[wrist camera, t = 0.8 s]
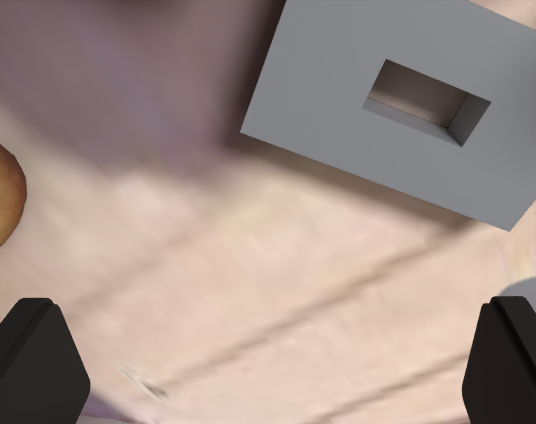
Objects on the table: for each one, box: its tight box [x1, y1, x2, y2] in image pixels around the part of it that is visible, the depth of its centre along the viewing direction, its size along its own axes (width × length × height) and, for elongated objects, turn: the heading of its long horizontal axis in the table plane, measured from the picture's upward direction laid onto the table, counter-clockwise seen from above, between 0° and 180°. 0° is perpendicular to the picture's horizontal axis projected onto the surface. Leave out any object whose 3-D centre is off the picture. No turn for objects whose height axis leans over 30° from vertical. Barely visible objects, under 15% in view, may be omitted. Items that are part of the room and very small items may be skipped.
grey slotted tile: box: [240, 0, 536, 232], centre depth 34 cm, size 14×24×4 cm, turn 70°
